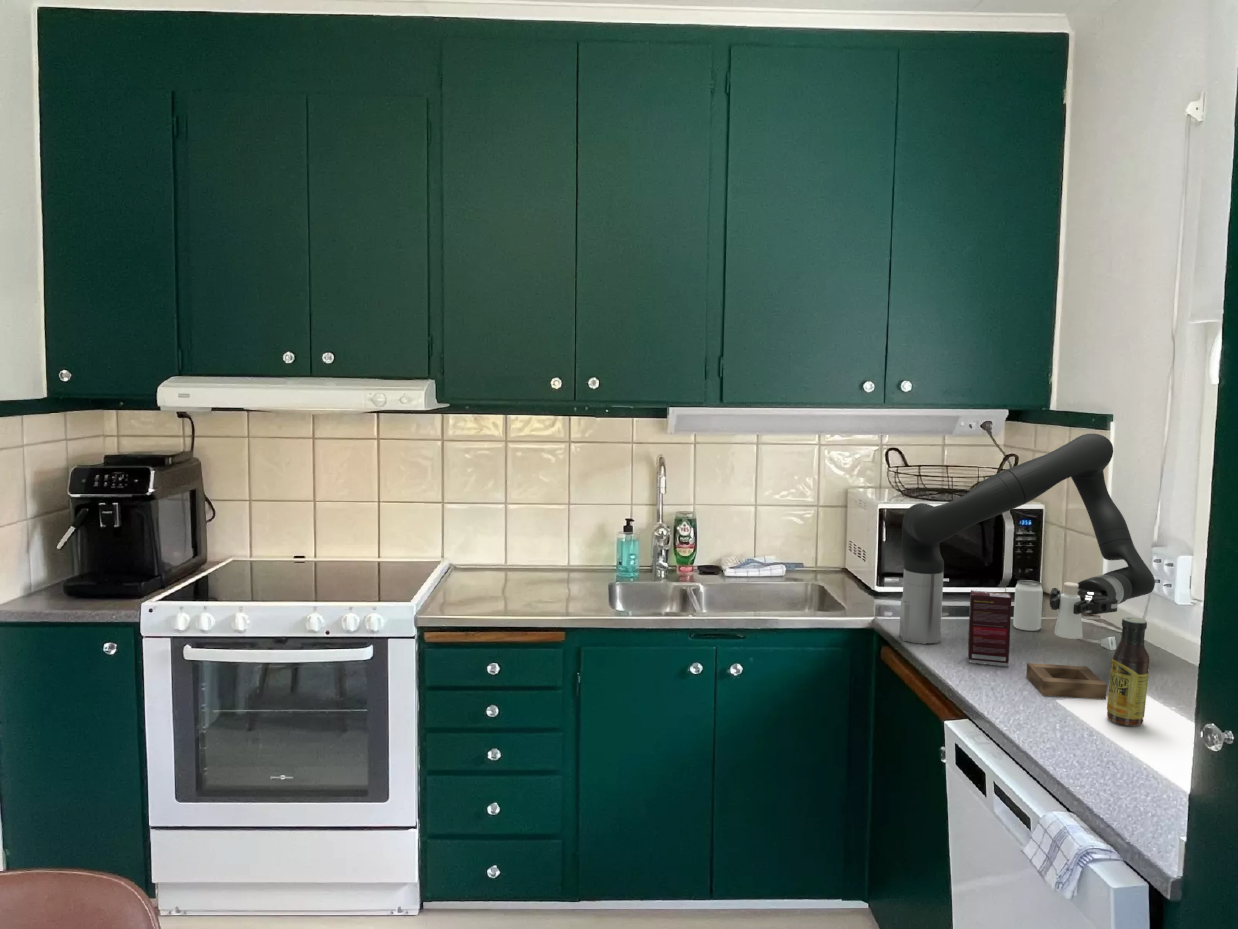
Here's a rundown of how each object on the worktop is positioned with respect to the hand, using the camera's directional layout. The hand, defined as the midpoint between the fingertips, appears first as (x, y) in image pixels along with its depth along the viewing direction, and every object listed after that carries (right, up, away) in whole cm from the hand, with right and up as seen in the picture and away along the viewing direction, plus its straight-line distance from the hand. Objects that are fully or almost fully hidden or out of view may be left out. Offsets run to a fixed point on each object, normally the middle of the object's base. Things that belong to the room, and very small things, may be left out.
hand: (1064, 607), depth 189 cm
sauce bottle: (+4, -19, -15) cm, 25 cm away
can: (+14, -13, +49) cm, 53 cm away
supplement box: (-8, -16, +20) cm, 27 cm away
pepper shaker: (+2, -7, +3) cm, 7 cm away
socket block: (+2, -17, +4) cm, 18 cm away
